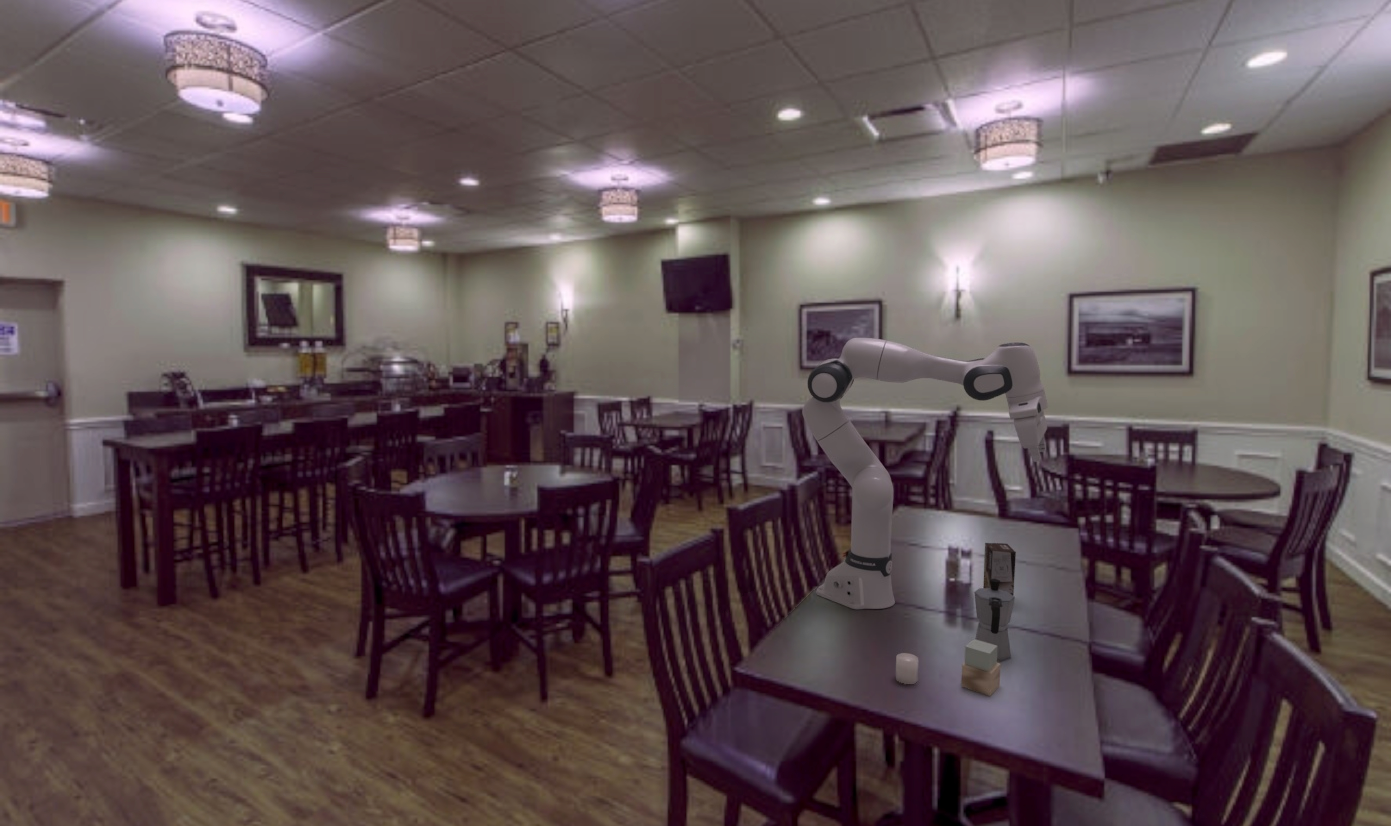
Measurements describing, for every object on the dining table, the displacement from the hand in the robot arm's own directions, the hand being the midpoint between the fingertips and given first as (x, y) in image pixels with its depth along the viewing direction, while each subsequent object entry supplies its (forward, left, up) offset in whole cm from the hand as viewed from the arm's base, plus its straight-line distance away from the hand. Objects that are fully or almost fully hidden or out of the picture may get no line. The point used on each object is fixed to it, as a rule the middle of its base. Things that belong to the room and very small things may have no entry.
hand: (1039, 456), depth 169 cm
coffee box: (-12, +12, -45) cm, 49 cm away
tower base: (+1, -41, -45) cm, 61 cm away
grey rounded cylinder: (-12, -49, -45) cm, 68 cm away
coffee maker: (-2, -24, -45) cm, 51 cm away
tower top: (+1, -41, -40) cm, 57 cm away
